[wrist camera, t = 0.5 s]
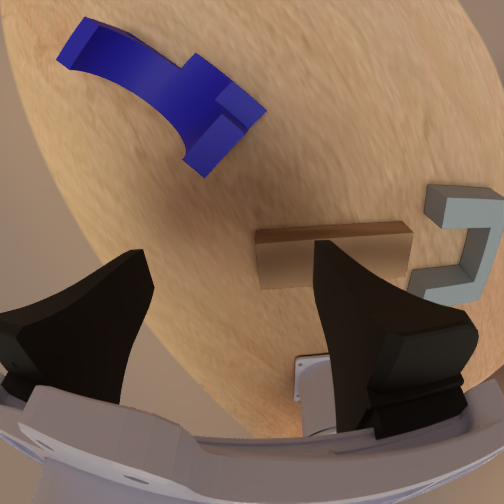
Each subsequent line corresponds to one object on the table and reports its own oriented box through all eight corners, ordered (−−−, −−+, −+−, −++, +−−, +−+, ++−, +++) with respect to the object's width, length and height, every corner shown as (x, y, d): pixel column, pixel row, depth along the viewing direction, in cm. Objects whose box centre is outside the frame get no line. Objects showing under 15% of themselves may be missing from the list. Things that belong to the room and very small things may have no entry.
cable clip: (266, 109, 17) (267, 112, 12) (221, 156, 19) (204, 178, 14) (142, 17, 13) (101, -5, 8) (105, 64, 15) (55, 59, 10)
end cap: (465, 282, 23) (479, 299, 21) (407, 291, 24) (418, 311, 21) (490, 188, 18) (509, 200, 15) (427, 184, 19) (447, 197, 16)
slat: (394, 260, 23) (405, 276, 20) (260, 271, 24) (260, 289, 21) (400, 219, 21) (413, 232, 18) (256, 228, 22) (255, 244, 20)
